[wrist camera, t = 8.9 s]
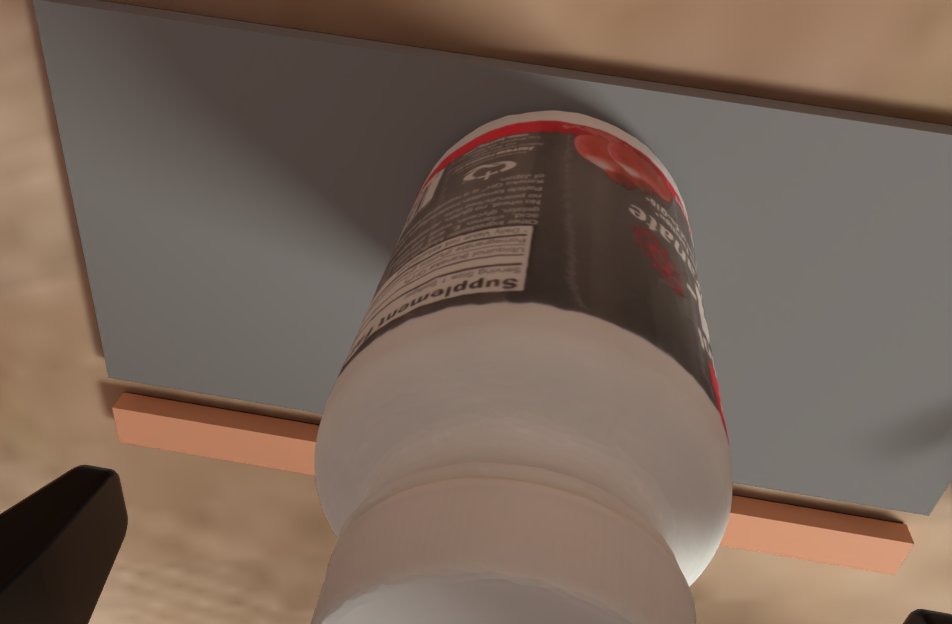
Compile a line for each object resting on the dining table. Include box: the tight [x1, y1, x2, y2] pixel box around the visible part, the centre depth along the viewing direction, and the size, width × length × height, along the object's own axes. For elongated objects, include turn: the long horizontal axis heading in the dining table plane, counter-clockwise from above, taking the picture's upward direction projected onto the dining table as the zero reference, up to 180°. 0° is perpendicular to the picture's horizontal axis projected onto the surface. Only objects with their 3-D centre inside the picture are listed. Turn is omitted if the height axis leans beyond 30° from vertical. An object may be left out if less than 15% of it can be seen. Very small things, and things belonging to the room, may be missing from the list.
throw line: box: [112, 392, 914, 575], centre depth 20 cm, size 1×20×1 cm, turn 84°
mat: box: [32, 0, 952, 516], centre depth 17 cm, size 9×20×1 cm, turn 84°
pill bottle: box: [311, 110, 733, 624], centre depth 12 cm, size 5×5×10 cm
